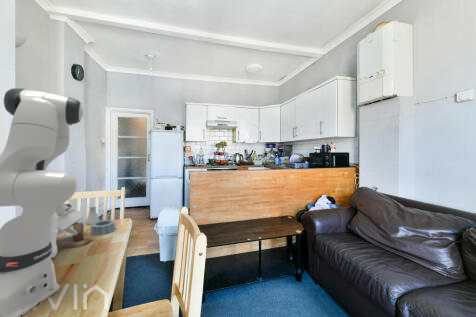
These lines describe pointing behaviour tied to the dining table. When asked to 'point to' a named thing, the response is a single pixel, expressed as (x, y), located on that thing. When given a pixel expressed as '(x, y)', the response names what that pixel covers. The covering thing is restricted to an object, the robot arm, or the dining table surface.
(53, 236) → the water bottle
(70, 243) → the walnut lid
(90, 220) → the flask
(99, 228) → the slate-blue bowl
